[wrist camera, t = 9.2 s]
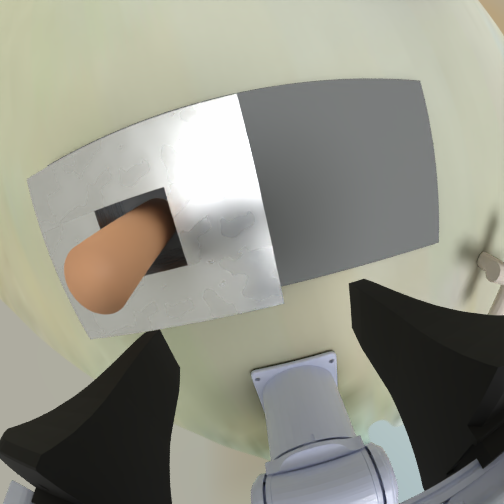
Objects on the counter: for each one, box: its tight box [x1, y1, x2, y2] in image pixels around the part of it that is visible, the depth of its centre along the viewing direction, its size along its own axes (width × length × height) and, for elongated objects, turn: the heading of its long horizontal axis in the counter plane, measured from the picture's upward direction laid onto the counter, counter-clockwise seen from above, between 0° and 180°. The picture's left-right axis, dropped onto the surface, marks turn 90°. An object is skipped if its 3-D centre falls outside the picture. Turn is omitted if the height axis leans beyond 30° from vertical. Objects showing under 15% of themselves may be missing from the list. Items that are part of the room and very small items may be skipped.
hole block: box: [27, 94, 284, 339], centre depth 16 cm, size 12×14×4 cm
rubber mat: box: [48, 79, 439, 286], centre depth 18 cm, size 14×30×1 cm, turn 103°
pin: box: [64, 198, 176, 315], centre depth 13 cm, size 3×3×10 cm
